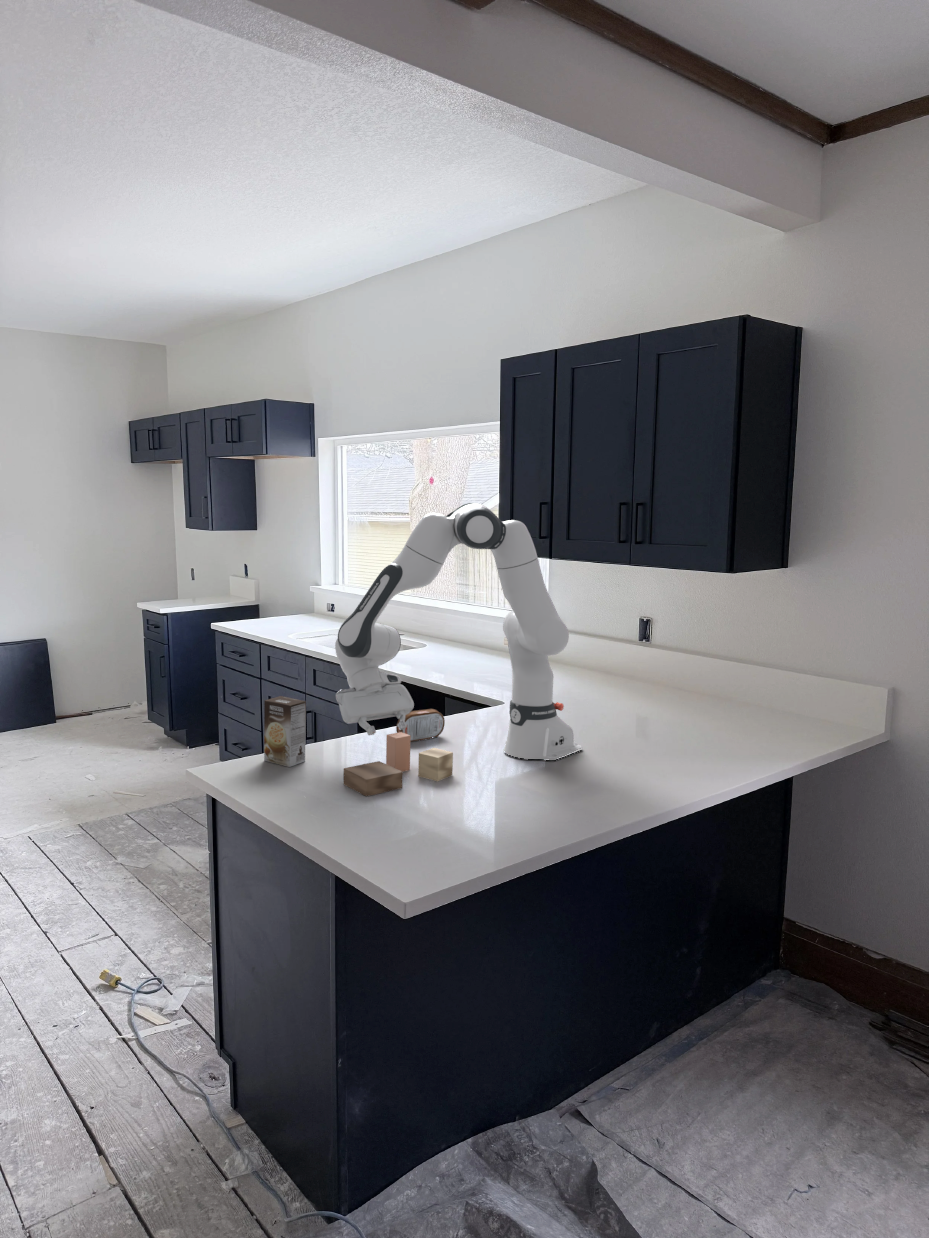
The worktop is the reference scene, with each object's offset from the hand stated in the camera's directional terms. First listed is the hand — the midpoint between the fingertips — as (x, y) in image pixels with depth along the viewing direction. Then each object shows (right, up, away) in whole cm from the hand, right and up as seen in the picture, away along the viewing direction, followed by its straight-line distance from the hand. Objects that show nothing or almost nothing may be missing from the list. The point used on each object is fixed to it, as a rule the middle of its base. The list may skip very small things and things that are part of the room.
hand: (388, 731), depth 216 cm
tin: (+7, -6, +25) cm, 27 cm away
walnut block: (-2, -11, -15) cm, 19 cm away
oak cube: (+12, -10, -6) cm, 17 cm away
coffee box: (-27, -8, +2) cm, 28 cm away
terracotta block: (+3, -9, -2) cm, 10 cm away
